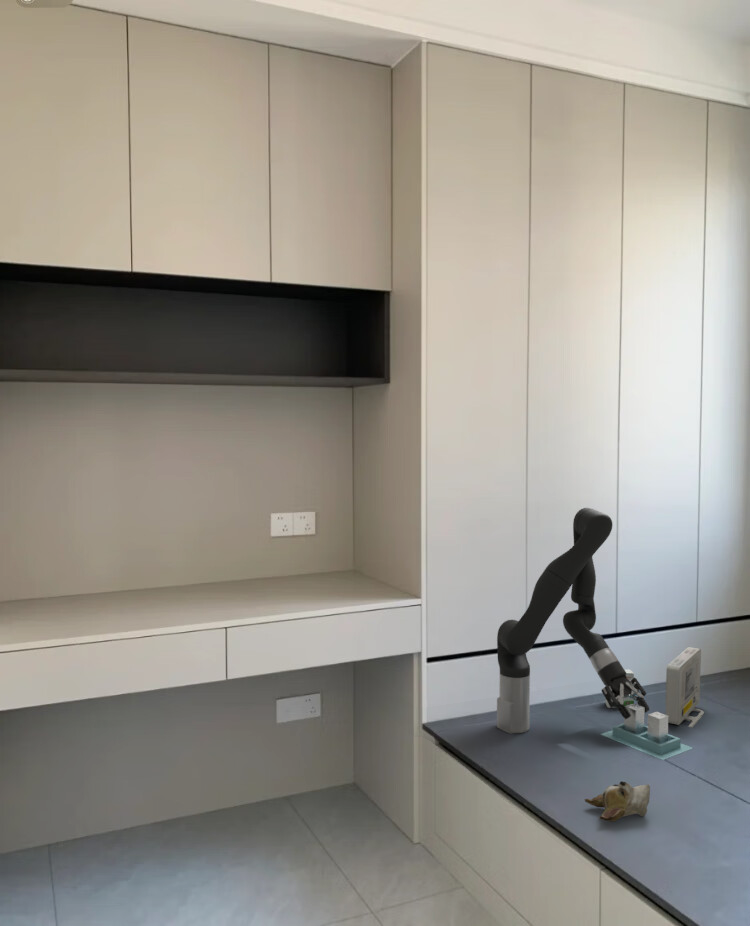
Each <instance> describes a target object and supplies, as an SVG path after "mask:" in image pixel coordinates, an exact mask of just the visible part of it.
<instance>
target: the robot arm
mask: <svg viewBox="0 0 750 926" xmlns="http://www.w3.org/2000/svg"><path fill="white" fill-rule="evenodd" d="M572 522H573V524H572V532H573V545H572V547H570V548H569V549H568V550H566V552H564V553H562V554H561V555H559V556H557V557H556V558H554V559H553V560H551V561H550V562H549V563H548V565H547V566H546V567H545V569H544V570H543V572H542V573H541V575H540V576H539V577H538V579H537V581H536V583H535V585H534V587H533V592H532V595H531V599H530V602H529V604H528V606H527V609H526V610H525V612H524V613H523V615H522V616H521V618H519V620H517V619H507V620H505V621H504V622H503V623H501V624H500V626H499V628H498V630H497V634H496V635H497V637H496V642H497V643H496V644H497V645H496V646H497V651H496V652H497V664H498V666H499V697H496V728H497V729H499V730H501V731H503V732H505V733H508V734H510V735H511V734H523V733H527V732H528V731H530V710H531V709H530V706H531V705H530V699H531V698H530V695H531V694H530V693H531V692H530V691H531V684H530V683H531V665H530V663H529V661H528V660H529V659H528V658H527V653H528V652H530V651H531V649H532V648H533V646H534V645H535V643H536V641H537V639H538V637H539V635H540V634H541V632H542V630H543V628H544V627H545V624H546V623H547V621H548V620H549V618H550V617H551V615H552V614H553V613H554V612H555V610H556V608H558V606H559V604H560V602H561V601H562V600H563V598H564V597H565V595H566V594H567V593H568V591H569V590H570V588H571V592H570V593H571V594H570V599H571V601H572V602H573V603H575V604H577V608H578V609H576V610H570V611H568V612H566V613H565V614H564V615H563V618H562V624H563V625H562V626H563V627H564V629H565V632H567V634H568V635H569V636H570V637H571V638H572V640H574V641H575V642H576V643H577V644H578V645H579V646H580V647H581V648H582V649H583V651H584V653H585V654H586V656H587V658H588V659H589V660H590V663H591V665H592V667H593V668H594V670H595V672H596V673H597V675H598V677H599V679H600V680H601V682H602V683H603V685H604V687H603V688H602V689H600V690H601V693H602V695H603V696H604V698H606V700H607V702H608V703H609V705H610V707H612V709H614V708H613V707H616V708H615V709H618V711H619V713H620V714H621V716H622V717H623V718H625V719H628V718H629V717H630V716H631V714H630V713H629V711H628V710H627V708H626V706H625V705H623V698H624V697H629V698H633V699H634V701H635V702H637V705H639V706H642V707H644V708H645V711H644V714H646V713H648V712H649V711H650V707H649V705H648V703H647V702H646V700H645V696H646V695H647V692H646V690H645V689H644V688H643V685H641V683H640V682H639V681H638V679H637V678H636V677H634V678H633V679H632V680H630V681H629V680H628V679H627V678H626V672H625V670H624V669H625V668H624V667H623V666H622V664H621V662H620V660H619V659H618V658H617V655H615V653H614V651H612V650H611V648H610V646H609V645H608V643H607V642H606V640H605V638H604V637H603V636H602V635H601V634H600V633H597V632H592V629H593V628H594V627H595V625H596V620H597V614H596V606H595V601H594V597H595V590H596V585H597V584H596V583H597V582H596V581H597V578H596V577H597V576H596V569H595V565H594V559H593V556H594V554H595V553H596V552H598V550H599V548H601V547H602V545H604V543H605V541H606V540H607V539H608V538H609V537H610V535H611V532H612V529H613V520H612V518H611V517H610V515H608V514H606V513H603V512H602V511H599V510H596V509H594V508H590V507H583V508H581V509H579V510H578V511H577V512H576V513H575V515H574V518H573V521H572ZM632 691H633V692H632ZM611 699H612V701H613V702H612V701H611Z"/></svg>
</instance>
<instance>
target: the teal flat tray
mask: <svg viewBox="0 0 750 926" xmlns="http://www.w3.org/2000/svg"><path fill="white" fill-rule="evenodd" d="M647 731H648V725H645V724H644V733H641V734H638V735H636V734H633V733H631V732H628V731H626V730H624V722H623V723H621V724H617V725H614V726H612V730H609V731H606V732H602V733H600V736H603V737H606V738H608V739H611V740H613V741H615V742H618V743H621V744H623V745H625V746H628V747H629V748H632V749H634V750H637V751H639V752H642V753H644V754H646V755H649V756H651V757H655V758H657V759H659V760H662V761H664V760H667V759H669V758H672V757H674V756H676V755H680V754H682V753H685V752H688V751H691V750H692V749H694V748H693V747H691V746H689V745H686V744H685V743H684V744H683V743H682V741H681V740H682V739H681V738H680V737H677V736H674V735H672V734H669V733H668V741H667V742H664V743H662V744H659V743H656V742H654V741H651V740H649V739H647Z"/></svg>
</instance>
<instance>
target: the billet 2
mask: <svg viewBox="0 0 750 926" xmlns="http://www.w3.org/2000/svg"><path fill="white" fill-rule="evenodd" d="M647 726H648V731H647V739H649V740H651V741H654V742H656V743H659V744H662V743H664V742H667V741H668V734H669V723H668V716H667V715H666V714H664V713H661V712H659V711H654V712H651V713H648V714H647Z"/></svg>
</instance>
